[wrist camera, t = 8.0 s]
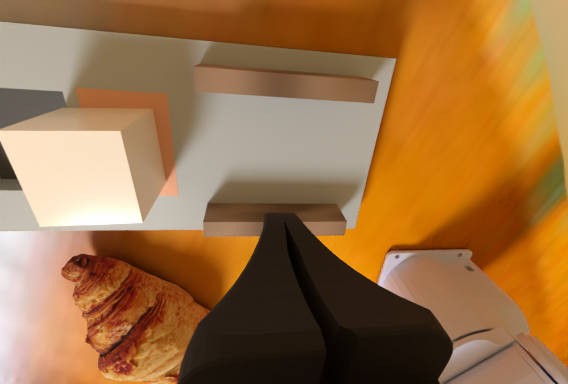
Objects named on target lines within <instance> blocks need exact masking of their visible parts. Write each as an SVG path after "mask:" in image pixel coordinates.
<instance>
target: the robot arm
mask: <svg viewBox="0 0 568 384" xmlns="http://www.w3.org/2000/svg"><path fill="white" fill-rule="evenodd" d="M472 254H473V253H472V251H471V250H469V249H452V250H403V251H390V252H388V253H387V255H386V258H385V261H384V264H383V267H382V270H381V273H380V276H379V279H378V282H377V284H376V283H374V282H373V281H371V280H369V279H368V278H366V277H365V276H363V275H362V274H360V273H358V272H357V271H356V270H354V269H353V268H351V267H350V266H349V265H347V264H346V263H345V262H343V261H342V260H341V259H339V258H338V257H337V256H336V255H335V254H333V253H332V252H331V251H330V250H329V249H328V248H327V247H326V246H324V245H323V244H322V243H321V242H320V241H319V240H318V239H317V238H316V237H315V235H314V234H313V233H312V232H311V231H310V230H309V229H308V228H307V227H306V226H305V224H304V223H303V222H302V221H301V220H300V219H299V217H298V216H297V215H296V214H295V213H266V214H265V215H264V221H263V229H262V232H261V235H260V238H259V241H258V244H257V246H256V248H255V250H254V252H253V254H252V256H251V258H250V260H249V262H248V264H247V265H246V267H245V269H244V270H243V272H242V273H241V275H240V276H239V278H238V279H237V281H236V282H235V283H234V285H233V286H232V287H231V289H230V290H229V291H228V292H227V293H226V295H225V296H224V297H223V298H222V299H221V300H220V302H219V303H218V304H217V305H216V306H215V307H214V308H213V309H212V310H211V311H210V312H209V313H208V314H207V315H206V316H205V317H204V318H203V319H202V320H201V321H200V322H199V323H198V325H197V327H196V329H195V331H194V333H193V335H192V337H191V340H190V342H189V344H188V346H187V349H186V351H185V354H184V357H183V360H182V363H181V366H180V371H179V376H178V381H177V384H568V368H567V367H566V366H565V365H564V364H563V363H562V362H561V361H560V360H559V359H558V358H557V357H556V356H555V355H554V354H553V353H552V352H551V351H550V350H549V349H548V348H547V347H546V346H545V345H544V344H543V343H542V342H541V341H540V340H539V339H538V338H537V337H536V336H532V335H530V330H529V326H528V323H527V320H526V318H525V316H524V314H523V312H522V311H521V309H520V308H519V307H518V305H517V304H516V303H515V302H514V301H513V300H512V299H511V298H510V297H509V296H508V295H507V294H506V293H505V292H504V291H503V290H502V289H501V288H500V287H499V286H498V285H497V284H495V283H494V282H493V281H492V280H491V279H490V278H489V277H488V276H487V275H486V274H485V273H484V272H483V271H482V270H481V269H480V268H479V267H478V266H476V265H475V264H474V263H473V262H472V261H471V260H470V258H471V256H472ZM396 255H397V256H396ZM526 349H527V350H528V351H527V350H526Z"/></svg>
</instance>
